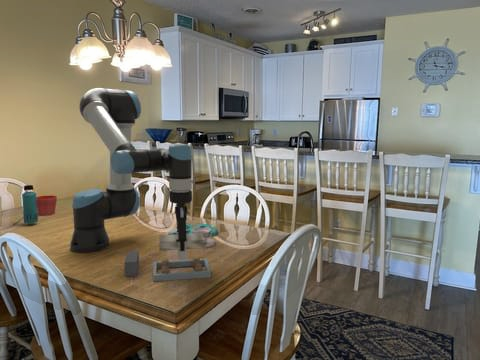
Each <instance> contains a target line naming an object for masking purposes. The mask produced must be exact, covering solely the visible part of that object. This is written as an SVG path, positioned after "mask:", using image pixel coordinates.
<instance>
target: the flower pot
mask: <svg viewBox="0 0 480 360" xmlns="http://www.w3.org/2000/svg"><path fill="white" fill-rule="evenodd" d="M36 199H37V209H38V210H37V213H38V216H52V215H54V214H55V212H56V207H57V199H58V197H57V196H56V195H51V194H50V195H39V196H36Z"/></svg>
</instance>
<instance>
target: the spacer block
mask: <svg viewBox="0 0 480 360" xmlns="http://www.w3.org/2000/svg"><path fill="white" fill-rule="evenodd" d="M139 252H140V251H139V250H127V251H126V254H125V255H126V256H125V258H124V265H123V266H124V277H136V276H138V271H139V267H140V253H139Z"/></svg>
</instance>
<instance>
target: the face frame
mask: <svg viewBox="0 0 480 360" xmlns="http://www.w3.org/2000/svg"><path fill="white" fill-rule="evenodd" d="M202 266H204V269H205V270H203V269H202ZM181 267H192V268H193V269H194V271H183V272H170V268H181ZM158 269H161V273H158V272H157V271H158ZM211 273H212V272H211V268H210V265H209V262H208V259H207V258H201V257H196V256H195V257H193V258H192V259H187V260H169V259H168V258H167V259H166V258H164V259H161V261H154V262H153V272H152V281H153V282H159V281H162V282H163V281H174V280H176V281H177V280H189V279H205V278H211V277H212V275H211Z"/></svg>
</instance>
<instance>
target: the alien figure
mask: <svg viewBox="0 0 480 360" xmlns="http://www.w3.org/2000/svg"><path fill="white" fill-rule="evenodd" d="M195 228H209V229H211V230H212V235H211V237H215V236H216V235H217V234H218V231H219V229H218V228H215V226H212V225H209V223H201V222H200V223H198V224H197V225H196V226H193V225H192V224H191V223H188V222H187V221H186V234H192V233H193V232H192V229H195ZM173 234H177V230H175V231H174V232H171V231H170V232H168V233H167V235H173ZM210 234H211V232H210V233H209V234H208V236H207V237H209V236H210Z"/></svg>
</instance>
